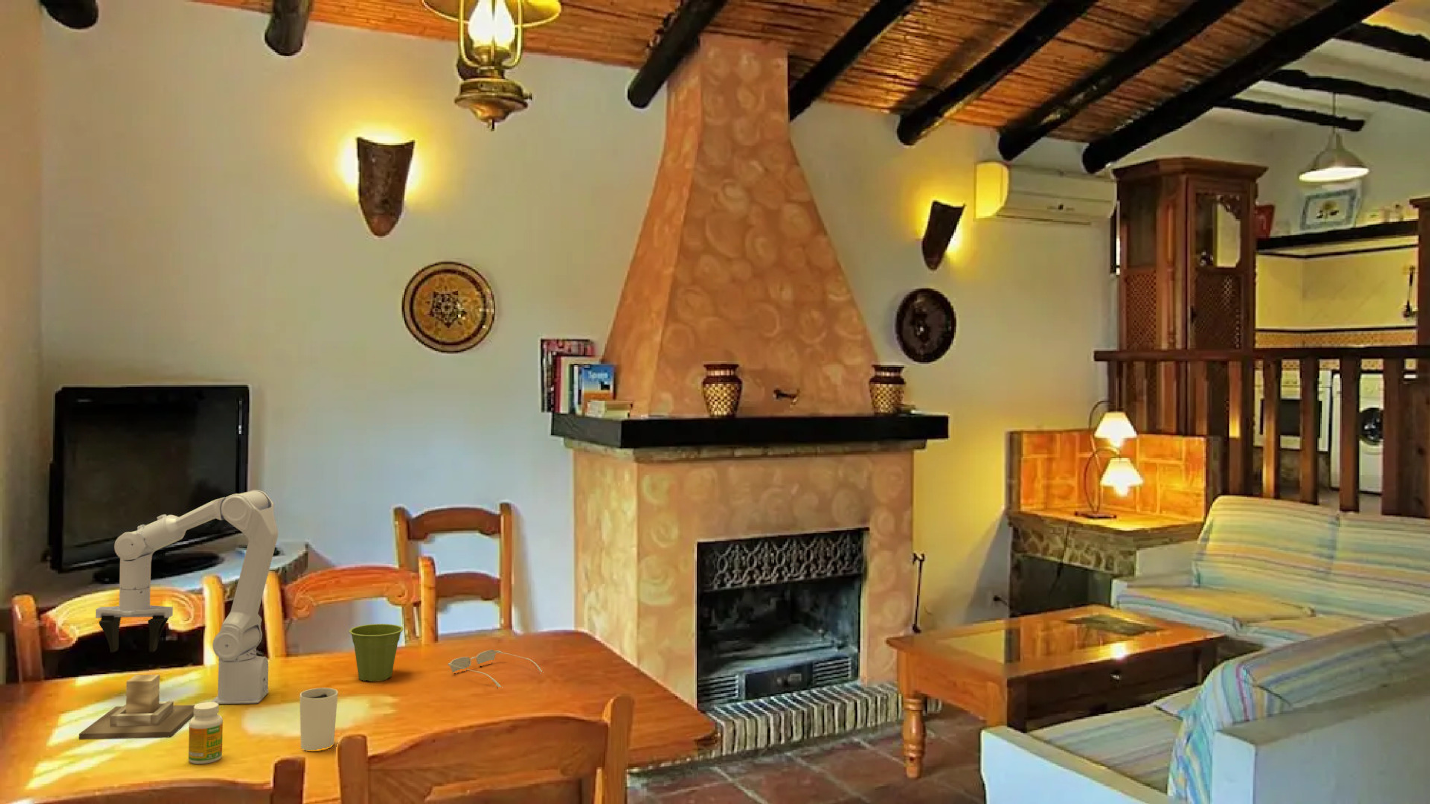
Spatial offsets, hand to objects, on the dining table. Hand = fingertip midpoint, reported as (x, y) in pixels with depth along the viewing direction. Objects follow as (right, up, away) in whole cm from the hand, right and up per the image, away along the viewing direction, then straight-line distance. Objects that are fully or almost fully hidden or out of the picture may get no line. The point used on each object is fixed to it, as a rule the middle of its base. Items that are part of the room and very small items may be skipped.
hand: (133, 650), depth 215 cm
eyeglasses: (+73, -12, +22) cm, 77 cm away
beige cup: (+49, -12, -26) cm, 57 cm away
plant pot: (+46, -11, +18) cm, 50 cm away
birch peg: (+12, -9, -17) cm, 23 cm away
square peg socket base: (+12, -10, -17) cm, 23 cm away
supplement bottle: (+32, -11, -34) cm, 48 cm away
